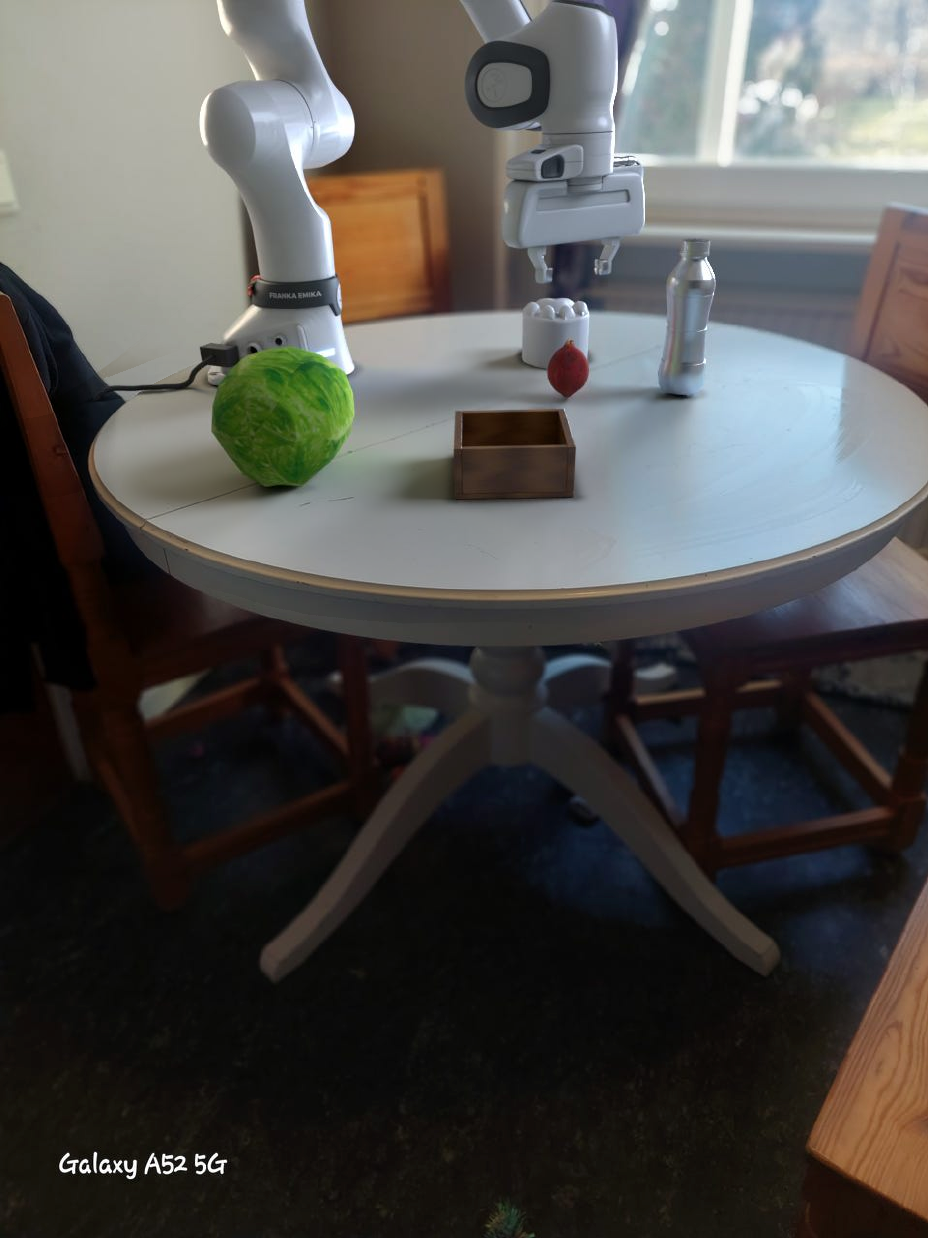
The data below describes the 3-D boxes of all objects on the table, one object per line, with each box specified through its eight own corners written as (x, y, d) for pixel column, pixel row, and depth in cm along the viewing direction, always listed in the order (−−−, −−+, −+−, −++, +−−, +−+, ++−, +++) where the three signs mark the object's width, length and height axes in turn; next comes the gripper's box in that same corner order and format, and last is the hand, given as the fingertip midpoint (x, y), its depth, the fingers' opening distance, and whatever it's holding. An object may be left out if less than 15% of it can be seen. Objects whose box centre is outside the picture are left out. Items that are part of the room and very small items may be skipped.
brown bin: (455, 499, 93) (453, 449, 90) (456, 457, 103) (455, 410, 100) (573, 497, 92) (576, 446, 89) (562, 455, 103) (564, 408, 100)
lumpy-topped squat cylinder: (582, 347, 146) (585, 293, 141) (591, 368, 135) (594, 310, 130) (520, 348, 146) (521, 294, 142) (524, 369, 135) (525, 311, 131)
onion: (586, 404, 120) (589, 345, 115) (544, 402, 121) (545, 343, 116) (589, 392, 124) (592, 334, 120) (549, 390, 125) (550, 333, 121)
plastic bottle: (677, 402, 119) (693, 245, 109) (646, 390, 124) (659, 239, 114) (713, 395, 122) (733, 240, 111) (682, 383, 127) (698, 235, 117)
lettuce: (256, 452, 113) (370, 471, 112) (181, 480, 92) (321, 504, 90) (263, 334, 108) (383, 353, 107) (186, 335, 87) (334, 359, 86)
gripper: (627, 153, 114) (621, 266, 121) (494, 163, 105) (495, 284, 112) (659, 155, 109) (651, 272, 116) (522, 165, 101) (522, 291, 108)
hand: (573, 278), depth 114 cm, fingers open, 8 cm apart
